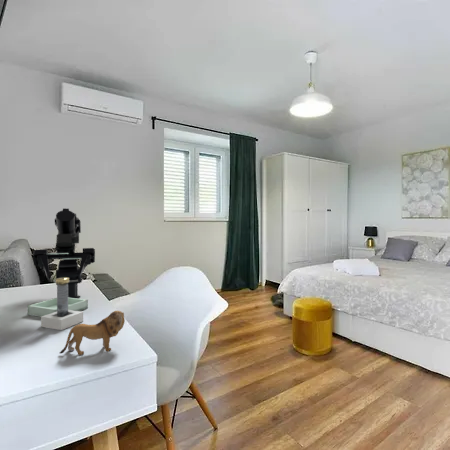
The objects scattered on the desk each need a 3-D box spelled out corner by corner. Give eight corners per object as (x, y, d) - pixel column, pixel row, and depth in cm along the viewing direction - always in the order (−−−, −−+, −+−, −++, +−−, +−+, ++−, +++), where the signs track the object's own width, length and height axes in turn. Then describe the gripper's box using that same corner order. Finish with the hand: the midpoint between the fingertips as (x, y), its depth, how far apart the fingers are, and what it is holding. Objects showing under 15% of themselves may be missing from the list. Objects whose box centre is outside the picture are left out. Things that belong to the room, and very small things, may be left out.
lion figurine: (123, 341, 78) (123, 307, 78) (126, 348, 73) (126, 312, 73) (59, 351, 72) (59, 314, 71) (58, 360, 67) (58, 321, 67)
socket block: (63, 318, 95) (63, 309, 95) (83, 321, 93) (83, 311, 93) (41, 326, 88) (41, 316, 88) (61, 330, 85) (61, 319, 85)
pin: (63, 321, 93) (63, 277, 92) (72, 322, 91) (72, 277, 91) (53, 325, 89) (53, 279, 89) (62, 326, 88) (62, 280, 88)
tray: (60, 304, 111) (60, 296, 111) (87, 308, 107) (87, 299, 107) (27, 314, 99) (27, 305, 99) (56, 319, 94) (56, 309, 94)
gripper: (33, 225, 98) (27, 263, 88) (94, 225, 106) (95, 259, 96) (37, 247, 105) (31, 284, 95) (94, 245, 113) (95, 279, 103)
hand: (64, 276), depth 97 cm, fingers open, 9 cm apart
